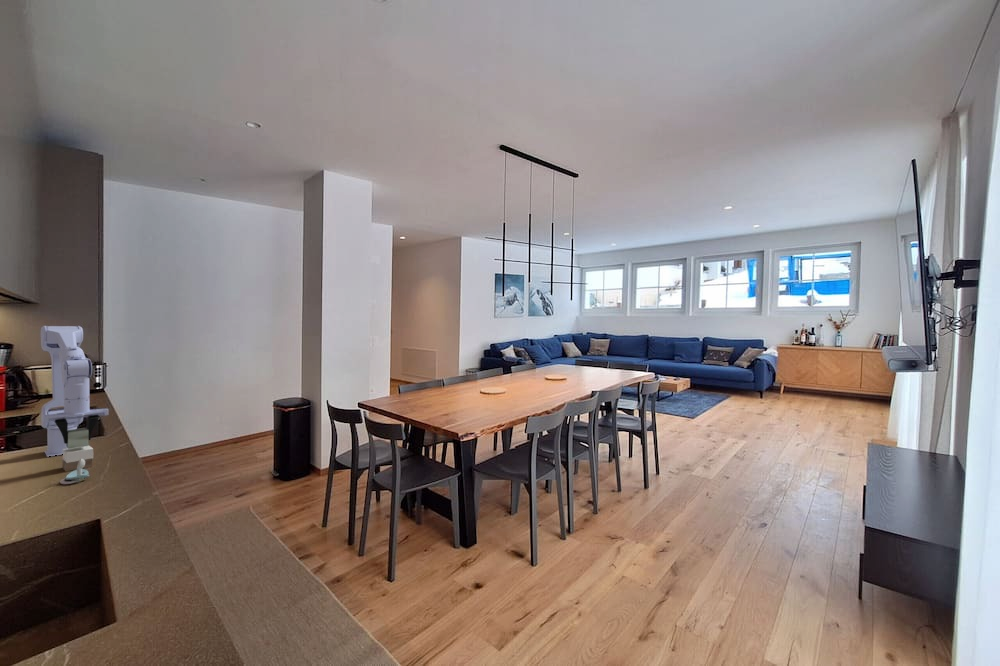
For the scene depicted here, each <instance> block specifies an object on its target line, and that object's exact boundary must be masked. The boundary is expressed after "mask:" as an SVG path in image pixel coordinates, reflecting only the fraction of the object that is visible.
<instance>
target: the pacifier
mask: <svg viewBox="0 0 1000 666" xmlns="http://www.w3.org/2000/svg"><path fill="white" fill-rule="evenodd" d="M84 466H85V460H84V459H80V460H79V462H78V465H77V470H73V471H70V472H69V473H68V474H66V477H65V478H63V479H61V480H60V481H59V483H60V484H62V485H73V484H77V483H78V482H79V483H80V482H82V481H85V478H88V477H90V473H89V470H87V469H86V468H84V469H82V468H83V467H84ZM70 480H71V481H70Z"/></svg>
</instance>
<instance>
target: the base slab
mask: <svg viewBox="0 0 1000 666" xmlns="http://www.w3.org/2000/svg"><path fill="white" fill-rule="evenodd" d="M78 462H79V461H75V462H69V463H66V462H65V461H64V460H63V459H62V469H63V471H64V470H65V471H68V472H71V471H70V470H73V471H75V470H77V465H78ZM87 467H90V468H92V467H93V458H92V459H86V460H85V466H84V467H83V468H84V469H88V468H87ZM83 468H82V469H83ZM65 471H64V472H65Z"/></svg>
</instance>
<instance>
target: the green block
mask: <svg viewBox="0 0 1000 666" xmlns="http://www.w3.org/2000/svg"><path fill="white" fill-rule="evenodd" d="M67 434H68V443H66V446H67V448H68V449H71V448H78V447H84V446H90V445H89V442H90V440H89V431H88V429H87V427H81V428H77V429H72V430H67Z"/></svg>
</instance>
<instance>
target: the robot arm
mask: <svg viewBox="0 0 1000 666" xmlns="http://www.w3.org/2000/svg"><path fill="white" fill-rule="evenodd" d="M83 341H84V329H83V327H82V326H80V325H76V326H74V325H72V326H71V325H66V326H65V325H63V326H61V325H60V326H59V325H49V326H48V325H43V326H41V328H40V347H41V350H42V351H44V352H48V353H49V356H50V361H51V384H52V386H51V387H52V388H51V389H52V399H51V400H49V401H48V402H45V404H43V405H42V406H41V409H40V411H41V412H40V425H41V427H42V428H43V429H46V431H47V434H46V435H47V440H46V441H47V449H45V450H44V451H43V452H44V453H45V456H46V458H49V456H51V457H56V456H55V455H57V456H61V455H62V454H63V449H68V448H67V446H66V443H68V434H67V430H72V429H78V427H79V425H80V424H81V423H83V421H84V419H86V420H85V421H86V422H85V423H86V428H87V429H88V431H89V441H91V438H92V433H93V431H94V428H95V427H96V425H97V424H98V422H99V420H100V417H99V416H109V415H110V414H109V413H110V412H109V411H110V410H109V408H97V409H91V407H90V403H91V402H90V378H91V377H92V375H93V364H92V360H91V359H90V358H87V357H86V355H85V353H84V350H83V349H82V348H81V345H82V342H83ZM62 456H63V455H62Z"/></svg>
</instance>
